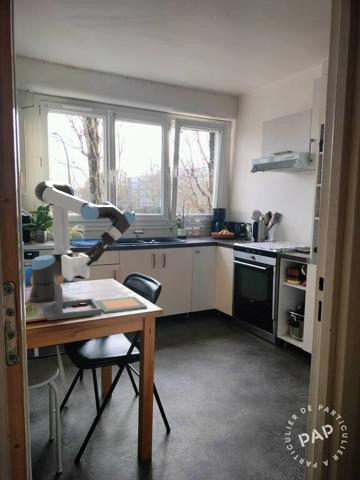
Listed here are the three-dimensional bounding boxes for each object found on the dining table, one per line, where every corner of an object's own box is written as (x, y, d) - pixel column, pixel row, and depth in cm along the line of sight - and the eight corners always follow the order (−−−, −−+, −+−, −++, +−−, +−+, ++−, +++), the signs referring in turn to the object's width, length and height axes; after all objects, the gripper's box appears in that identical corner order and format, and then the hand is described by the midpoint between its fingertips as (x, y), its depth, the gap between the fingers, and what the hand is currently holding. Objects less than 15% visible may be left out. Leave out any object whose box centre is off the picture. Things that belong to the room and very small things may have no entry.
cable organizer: (90, 280, 165) (90, 256, 164) (68, 282, 160) (67, 258, 159) (81, 274, 178) (81, 252, 177) (60, 276, 172) (60, 253, 171)
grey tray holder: (43, 307, 173) (43, 280, 172) (92, 302, 184) (92, 277, 183) (47, 320, 155) (47, 290, 154) (101, 313, 166) (101, 285, 164)
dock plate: (95, 302, 184) (95, 300, 184) (134, 298, 194) (134, 296, 194) (104, 313, 167) (104, 311, 167) (146, 308, 176) (146, 306, 176)
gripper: (122, 243, 165) (90, 277, 160) (109, 238, 186) (81, 268, 181) (111, 232, 162) (78, 267, 157) (100, 229, 183) (70, 259, 178)
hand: (79, 268), depth 169 cm, fingers closed on cable organizer, 11 cm apart
